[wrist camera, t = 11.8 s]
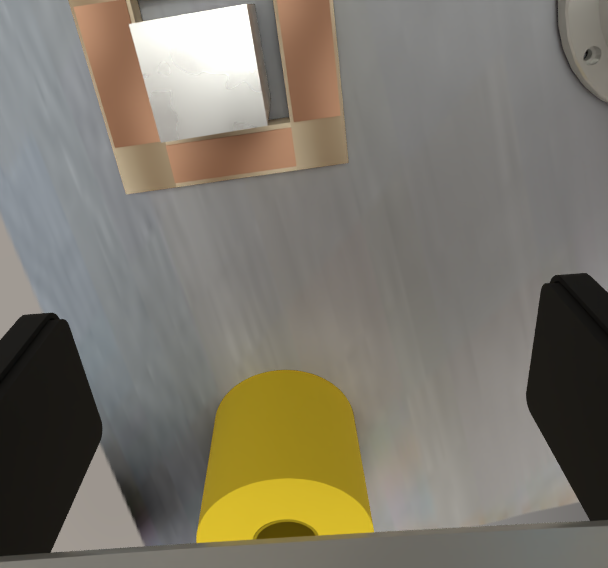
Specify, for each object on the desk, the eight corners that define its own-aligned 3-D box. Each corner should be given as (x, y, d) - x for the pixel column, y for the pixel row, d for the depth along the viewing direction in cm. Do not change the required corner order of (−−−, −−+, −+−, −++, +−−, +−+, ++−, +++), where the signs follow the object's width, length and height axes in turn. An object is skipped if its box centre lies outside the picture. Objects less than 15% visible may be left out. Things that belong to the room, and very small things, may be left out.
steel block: (254, 3, 26) (246, 4, 20) (270, 98, 29) (267, 125, 22) (164, 18, 27) (128, 24, 20) (187, 112, 29) (160, 142, 22)
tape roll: (249, 491, 42) (241, 613, 33) (190, 397, 37) (164, 510, 29) (372, 453, 40) (395, 570, 32) (326, 350, 36) (339, 456, 28)
